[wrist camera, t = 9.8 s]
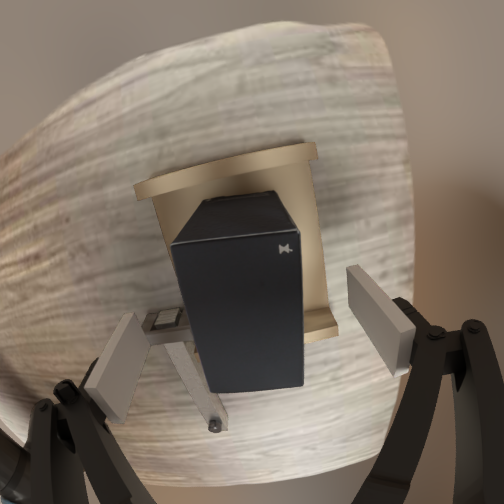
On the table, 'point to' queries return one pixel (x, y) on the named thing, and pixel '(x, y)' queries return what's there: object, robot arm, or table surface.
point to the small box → (243, 292)
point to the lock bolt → (193, 374)
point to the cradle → (238, 183)
